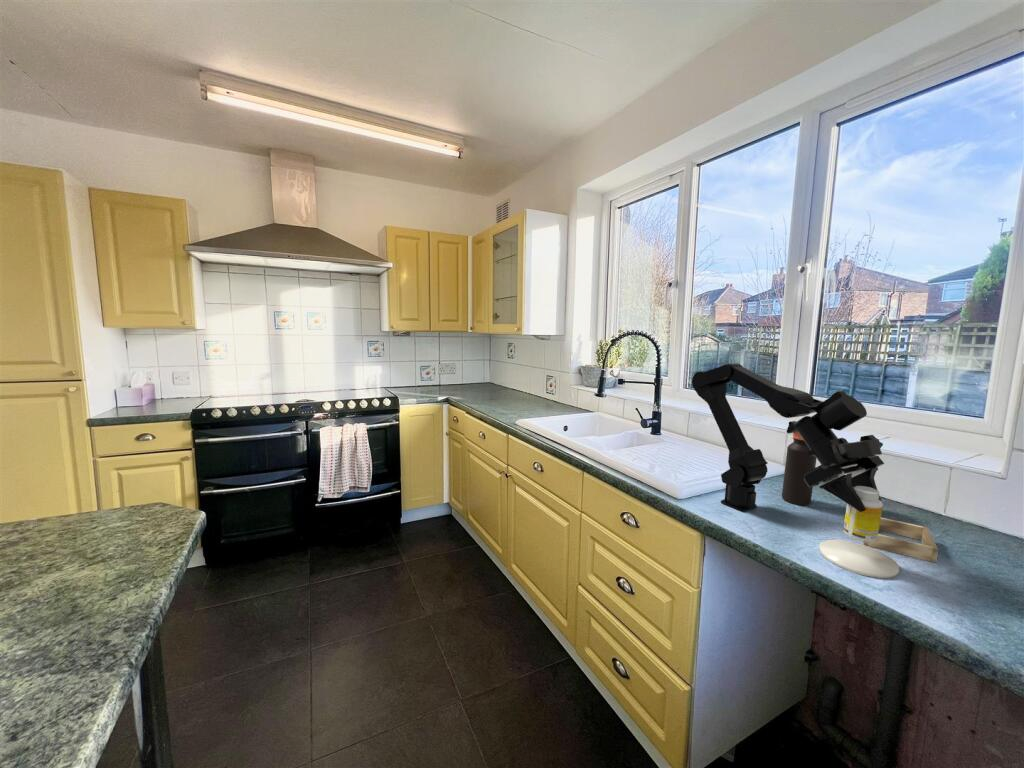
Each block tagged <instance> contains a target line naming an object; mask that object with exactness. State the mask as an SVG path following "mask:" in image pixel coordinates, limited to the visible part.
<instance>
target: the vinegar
mask: <svg viewBox="0 0 1024 768" xmlns="http://www.w3.org/2000/svg"><path fill="white" fill-rule="evenodd" d="M792 440H793V442H791V443H790V444H788V446H787V448H786V455H785V464H784V465H785V466H784V471H783V472H784V473H783V483H782V489H781V490H782V491H781V498H782V499H783V500H784V501H786V502H787V503H789V504H793V505H798V506H807V505H810V504H811V503H812V495H813V489H814V486H812V487H809V486H808V485H807V484H806V482H805V481H804V473H806V472H808V471H810V470H812V469H814V468H816V467H817V466H816V465H817V460H818V459H817V458H816V457H815V455H814V456H810V455H809V454H808V453H807V452H809V451H810V448H809V447H808V445H807V444H806V443H805V441H804V440H803V438H802V437H801V436H800V434H799V433H798V432H795V433H792Z"/></svg>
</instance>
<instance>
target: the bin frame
mask: <svg viewBox="0 0 1024 768" xmlns="http://www.w3.org/2000/svg"><path fill="white" fill-rule="evenodd" d="M879 532H883V533H889V534H893V535H896V536H897V535H899V536H902V537H907V538H911V539H916V540H919V541H921V543H919V542H914V541H911V540H905V539H902V538H898V537H893V536H888V535H884V534H882V533H878V537H877V539H876V540H875V541H862V542H863V545H865V546H868V547H871V548H874V549H875V548H876V549H880V550H883V551H888V552H892V553H895V554H900V555H904V556H908V557H911V558H915V559H920V560H923V561H927V562H931V563H935V564H936V563H937V560H938V559H937V558H938V553H939V548H938V546H937V544H936V542H935V540H934V538H933V535H932V534H931V532H930V530H929V528H928V527H927V526H923V525H918V524H914V523H908V522H904V521H899V520H895V519H889V518H885V517H881V519H880V525H879Z"/></svg>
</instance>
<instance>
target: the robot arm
mask: <svg viewBox="0 0 1024 768" xmlns="http://www.w3.org/2000/svg"><path fill="white" fill-rule="evenodd" d="M731 382H733V383H735V384H736V385H738V386H740V387H741V388H744V389H746V390H747V391H749V392H751V393H753V394H755V395H756V396H758V397H760V398H762V399H763V400H764V401H766V402H767V404H768V405H769V407H770V408H771V409H772V410H773V411H775V412H776V413H777V414H778V415H779V416H781V417H783V418H786V419H789V418H791V419H793V418H799V417H802V418H800V419H799V420H797V421H796V420H793V421H789V422H788V426H787V428H786V433H787V434H793V433H795V432H798V433H799V434H800V436H801V437H802V438H803V440H804V441H805V443H806V444H807V445H808V447H809V448H810V451H809V452H807V453H808V454H809V455H810V456H814V455H815V457H816V458H817V459H816V460H817V461H818V462H819V464H820V465H818V466H816V467H815V468H814V469H812V470H810V471H808V472H806V473H804V481H805V482H806V484H807V485H808V486H809V487H812V486H813V487H816V486H818V485H820V483H822V482H823V484H821V485H820V486H819V489H821V490H822V489H823V490H825V492H828V493H830V494H832V495H833V496H835V497H837V498H839V499H840V500H842V501H843V502H845V503H846V505H847V504H849V505H851V506H852V507H854V508H855V509H857V510H858V511H860V512H863V511H865V510H866V508H865V506H864V504H863V503H862V501H861V499H860V498H859V496H858V494H857V493H856V491H855V489H854V488H855V486H866V487H870V488H873V489H876V490H878V488H877V484H876V481H875V475H876V473H877V471H878V470H879V467H880V466H881V467H882V466H883V465H884V464H885V462H884V461H883V460H882V459H881V458H880V455H883V454H882V450H881V448H883V446H884V444H883V443H882V441H880V439H879V438H877V437H875V435H874V434H869V435H862V436H860V439H859V441H852V442H849V441H848V440H847V439H846V438H844V437H838V436H837V435H836V433H834V431H833V430H836V431H842V430H844V429H846V428H847V427H849V426H851V425H852V424H854V423H856V422H858V421H860V420H861V419H863V418H865V417H867V414H868V412H867V409H866V408H865V406H864V404H863V403H862V402H861V401H858V399H856V398H855V397H853V396H852V395H849V394H847V393H846V391H845V390H837V391H836V392H834V393H832V395H830V397H828V398H826V399H825V400H824V401H822V400H819V399H817V398H814V397H813V396H812V394H810V393H808V392H806V391H802V390H799V389H796V388H793V387H792V388H791V387H788V386H784V385H780V384H777V383H775V382H773V381H771V380H769V379H768V378H765V377H764V376H762V375H759V374H758V373H756V372H754V371H751V370H749V369H748V368H746V367H744V366H743V365H742V364H740V363H724V364H723V365H721V366H719V367H715V368H711V369H709V370H704V371H697V372H695V373H694V374H693V375H692V379H691V385H692V389H693V390H694V391H695V393H696V394H697V395H698V397H699V398H700V399H702V400H703V401H704V402H706V404H707V405H708V407H709V409H710V412H711V414H712V416H713V418H714V420H715V422H716V425H717V427H718V429H719V431H720V434H721V436H722V438H723V440H724V443H725V444H726V446H727V449H728V460H727V462H728V467H729V469H727V470H725V471H724V472H723V473H721V474H720V478H721V482H722V483H723V484H725V491H724V498H723V499H721V500H720V503H721V504H723V505H726V506H728V507H730V508H734V509H736V510H738V511H740V512H747V511H748V510H751V509H754V508H757V504H756V502H757V501H756V499H757V492H756V485H759V484H761V481H762V480H763V479H764V478H765V477H766V476H767V473H768V466H767V465H768V461H767V460H766V459H765V457H764V454H763V452H762V450H761V449H760V448H755V449H754V448H752V447H751V446H750V445H749V443H748V441H747V439H746V437H745V435H744V433H743V431H742V429H741V426H740V424H739V422H738V420H737V419H736V415H735V414H734V411H733V410H732V408H731V405H730V403H729V401H728V399H727V397H726V395H727V387H728V386H727V384H728V383H731ZM814 413H815V414H814ZM810 414H814V415H812V416H811V415H810ZM809 415H810V416H809ZM845 474H846V475H845ZM853 487H854V488H853ZM878 500H880V501H881V502H882V503H883V501H882V499H881V496H880V494H879V499H878Z"/></svg>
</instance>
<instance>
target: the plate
mask: <svg viewBox="0 0 1024 768" xmlns="http://www.w3.org/2000/svg"><path fill="white" fill-rule="evenodd" d="M818 551H819V553H820V554H822V555H823V556H824V557H825V560H827V561H828V560H829V561H828V562H830V563H831V562H832V564H833V563H834V565H835V566H838V567H839V568H840V569H844V570H846V571H848V572H851V573H855V574H857V575H861V576H865V577H869V576H870V578H875V577H878V578H877V579H890V578H894V577H897V576H898V575H899V572H900V566H899V564H898V563H897V561H896V560H895V559H894V558H892V557H891V556H889V555H888V554H886V553H884V552H882V551H880V550H878V549H877V548H876V549H875V548H874V547H871V546H867V545H864V544H861V543H858V542H854V541H850V540H844V539H827V540H823V541H821V542H820V544H819V547H818ZM822 555H821V556H822ZM823 556H822V557H823ZM824 557H823V558H824Z"/></svg>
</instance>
